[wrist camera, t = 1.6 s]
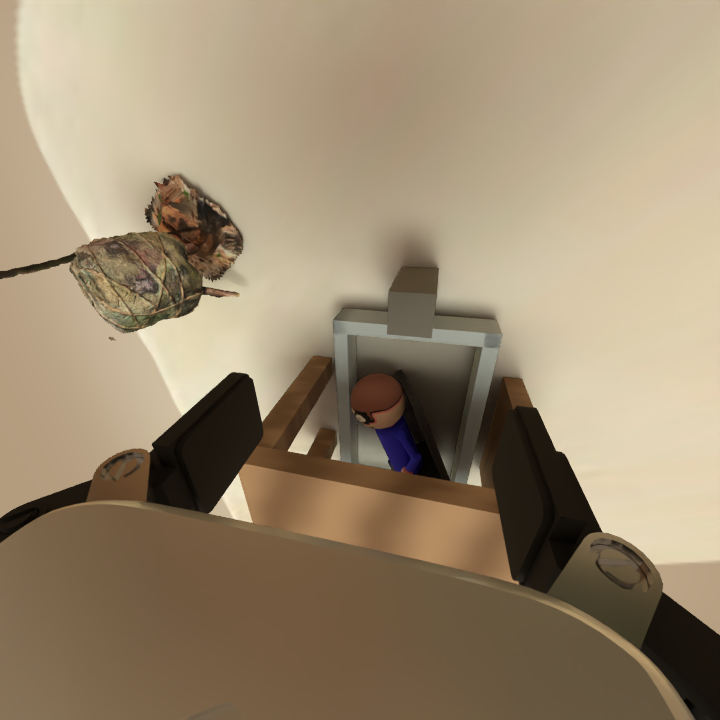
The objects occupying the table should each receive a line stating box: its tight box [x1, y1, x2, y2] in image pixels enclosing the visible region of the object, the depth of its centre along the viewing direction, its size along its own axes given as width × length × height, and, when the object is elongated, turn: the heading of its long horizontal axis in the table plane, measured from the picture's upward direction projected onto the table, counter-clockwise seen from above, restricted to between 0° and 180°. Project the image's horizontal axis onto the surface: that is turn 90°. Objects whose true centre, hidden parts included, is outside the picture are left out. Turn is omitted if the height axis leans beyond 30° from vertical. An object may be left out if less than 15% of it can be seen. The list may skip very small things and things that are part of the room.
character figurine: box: [351, 370, 450, 481], centre depth 30 cm, size 8×7×15 cm
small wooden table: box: [239, 356, 533, 585], centre depth 27 cm, size 20×12×15 cm, turn 90°
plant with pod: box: [0, 175, 243, 340], centre depth 21 cm, size 8×11×20 cm
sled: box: [333, 267, 502, 484], centre depth 29 cm, size 13×26×7 cm, turn 0°
